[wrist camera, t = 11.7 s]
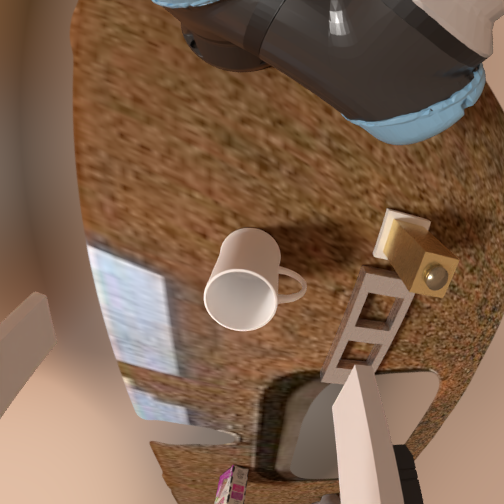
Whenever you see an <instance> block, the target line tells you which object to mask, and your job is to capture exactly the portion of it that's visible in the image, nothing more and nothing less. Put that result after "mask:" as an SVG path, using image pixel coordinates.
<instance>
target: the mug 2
mask: <svg viewBox="0 0 504 504" xmlns="http://www.w3.org/2000/svg"><path fill="white" fill-rule="evenodd" d="M312 504H341V501H340V499H339V498H338V496H337V494H327V495H324V496H322V499H321V501H320V502H315V503H312Z"/></svg>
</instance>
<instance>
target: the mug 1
mask: <svg viewBox="0 0 504 504" xmlns="http://www.w3.org/2000/svg"><path fill="white" fill-rule="evenodd" d="M280 260H281V254H280V249H279V246H278V244H277V242H276V241H275V240H274V238H273V237H272V236H270V235H269V234H268V233H266V232H265V231H262V230H260V229H256V228H242V229H239V230H236V231H234V232H232V233H231V234H230V235H229V236H228V237H227V238H226V239H225V240H224V242H223V244H222V246H221V250H220V255H219V257H218V260H217V262H216V264H215V267H214V269H213V271H212V274H211V276H210V279H209V281H208V283H207V286H206V288H205V292H204V303H205V307H206V309H207V311H208V313H209V314H210V316H211V317H212V318H213V319H214V320H215V321H216V322H218V323H219V324H220V325H222V326H224V327H226V328H229V329H232V330H237V331H250V330H255V329H258V328H260V327H262V326H264V325H265V324H267V323H268V322H269V321H270V320H271V319H272V317H273V316H274V314H275V312H276V309H277V304H279V303H288V302H293V301H296V300H298V299H300V298H301V297H302V296H303V295H304V294H305V292H306V289H307V285H306V282H305V280H304V278H303V277H302V276H301V275H299V274H298V273H296V272H294V271H292V270H290V269H287V268H284V267H281V266H279V264H280ZM278 274H284V275H288V276H290V277H293V278H294V279H296V280H297V281H299V282H300V283H301V285H302V287H303V288H302V290H301V291H299V292H298V293H295V294H291V295H280V294H278Z"/></svg>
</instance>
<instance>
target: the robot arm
mask: <svg viewBox="0 0 504 504" xmlns="http://www.w3.org/2000/svg"><path fill="white" fill-rule="evenodd" d="M152 1H153V2H154V3H156V4H158V5H160V6H162V7H163V8H165V9H166V10H167V11H168V12H170V13H171V14H172V15H173V16H174V17H176V18H177V19H178V20H179V21H180V22H181V28H182V33H183V36H184V38H185V40H186V42H187V44H188V46H189V47H190V48H191V50H192V51H193V52H194V53H195V54H196V55H197V56H198V57H200V58H201V59H203V60H204V61H205V62H207V63H208V64H210V65H212V66H214V67H217V68H219V69H223V70H226V71H232V72H251V71H257V70H261V69H264V68H267V67H270V66H273V67H274V68H276V69H278V70H279V71H281V72H282V73H284V74H286V75H287V76H289V77H290V78H292V79H293V80H295V81H296V82H298V83H299V84H301V85H302V86H304V87H305V88H307V89H308V90H310V91H311V92H313V93H314V94H316V95H317V96H318V97H320V98H321V99H323V100H324V101H325V102H327V103H328V104H330V105H331V106H332V107H334V108H335V109H336V110H338V111H339V112H340V113H341V114H342V116H343V117H344V118H345V119H347V120H348V121H351V122H352V123H354V124H357V125H359V126H361V127H362V128H363V129H365V130H366V131H367V132H369V133H370V134H371V135H373V136H374V137H375V138H377V139H379V140H381V141H383V142H385V143H388V144H393V145H408V144H413V143H417V142H421V141H423V140H426V139H429V138H431V137H433V136H435V135H437V134H439V133H441V132H442V131H444V130H446V129H447V128H449V127H450V126H452V125H453V124H454V123H456V122H457V121H458V120H459V119H461V118H462V117H463V116H464V109H465V108H467V107H469V106H473V105H474V104H475V103H476V101H477V100H478V98H479V97H480V95H481V93H482V91H483V88H484V85H485V81H486V78H485V70H484V68H483V64H482V62H483V61H484V60H485V59H487V58H488V57H490V56H491V55H492V53H493V36H492V28H493V25H494V22H495V21H496V20H498V19H499V18H500V17H501V16H503V15H504V0H152ZM56 344H57V339H56V335H55V331H54V327H53V323H52V319H51V315H50V310H49V305H48V300H47V296H46V295H43V294H41V293H38V292H33V293H32V294H31V295H30V296H29V297H28V298H27V299H26V300H24V301H23V302H22V303H21V304H20V305H19V306H18V307H17V308H16V309H15V310H14V311H13V312H12V313H11V314H9V315H8V316H7V317H6V319H4V320H3V321H2V322H1V323H0V418H1V417H2V416H3V414H4V413H5V411H6V410H7V408H8V407H9V406H10V404H11V403H12V401H13V400H14V398H15V397H16V396H17V394H18V393H19V391H20V390H21V389H22V388H23V386H24V385H25V384H26V382H27V381H28V379H29V378H30V377H31V376H32V374H33V373H34V372H35V370H36V369H37V368H38V366H39V365H40V364H41V362H42V361H43V360H44V359H45V357H46V356H47V355H48V354H49V352H50V351H51V350H52V349H53V347H54V346H55V345H56ZM332 410H333V419H334V428H335V438H336V447H337V459H338V471H339V484H340V498H341V504H423V499H422V494H421V489H420V485H419V480H417V478H418V476H417V472H416V470H415V468H416V467H415V463H414V459H413V455H412V454H411V452H410V451H409V449H408V448H407V447H406V445H405V444H404V445H392V441H391V436H390V433H389V428H388V424H387V420H386V416H385V412H384V408H383V404H382V400H381V396H380V393H379V389H378V385H377V382H376V378H375V374H374V371H373V367H372V366H365V365H354V367H353V369H352V371H351V373H350V375H349V377H348V379H347V381H346V383H345V384H344V386H343V388H342V390H341V392H340V394H339V396H338V398H337V399H336V401H335V403H334V404H333V406H332Z"/></svg>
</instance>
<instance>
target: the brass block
mask: <svg viewBox="0 0 504 504" xmlns="http://www.w3.org/2000/svg"><path fill="white" fill-rule="evenodd" d="M383 253H384V254H385V256H386V257H387V259H388V260H389V262H390V263H391V265H392V266H393V268H394V269H395V271H396V272H397V274H398V275H399V277H400V278H401V280H402V281H403V283H404V285H405V286H406V288H407V289H408V291H409V292H412V293H417V294H423V295H429V296H434V297H440V298H443V297H444V295H445V293H446V290H447V288H448V286H449V284H450V281H451V279H452V277H453V275H454V272H455V270H456V267H457V265H458V263H459V259H458V258H457V257H456V256H455V255H454V254H453V253H452V252H451V251H450V250H448V249H447V248H446V247H445V246H444V245H443V244H442V243H441V242H440V241H439V240H438V239H437V238H436V237H434V236H433V235H432V234H431V233H430V232H429V231H428V230H427V229H425V228H424V227H423V226H419V225H416V224H412V223H408V222H404V221H401V220H397V219H393V222H392V226H391V229H390V232H389V235H388V238H387V241H386V244H385V247H384V250H383Z"/></svg>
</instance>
